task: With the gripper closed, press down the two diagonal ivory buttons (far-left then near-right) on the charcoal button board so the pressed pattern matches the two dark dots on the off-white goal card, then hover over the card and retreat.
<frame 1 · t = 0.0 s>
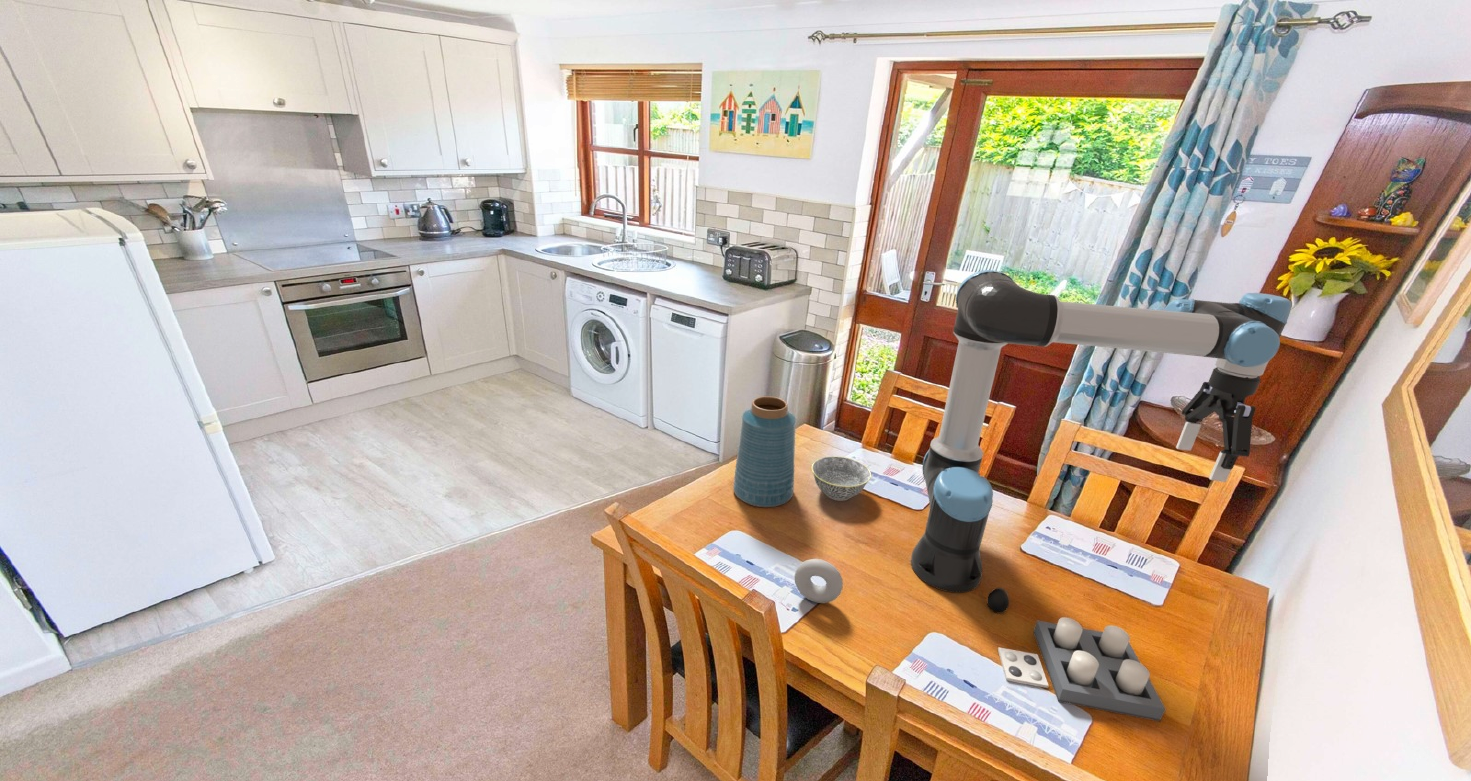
hand: (1199, 464, 123), 28 cm above the table, fingers open, 13 cm apart
goal card: (1021, 668, 106), on the table
egg: (995, 609, 120), on the table
button c: (1067, 633, 108), point 5 cm above the table, slide at 0.0 cm
button b: (1132, 677, 99), point 5 cm above the table, slide at 0.0 cm
button d: (1113, 641, 106), point 5 cm above the table, slide at 0.0 cm
button a: (1082, 667, 101), point 5 cm above the table, slide at 0.0 cm
donut: (815, 600, 119), on the table
board: (1091, 672, 105), on the table
vase: (763, 493, 156), on the table
bowl: (837, 494, 157), on the table
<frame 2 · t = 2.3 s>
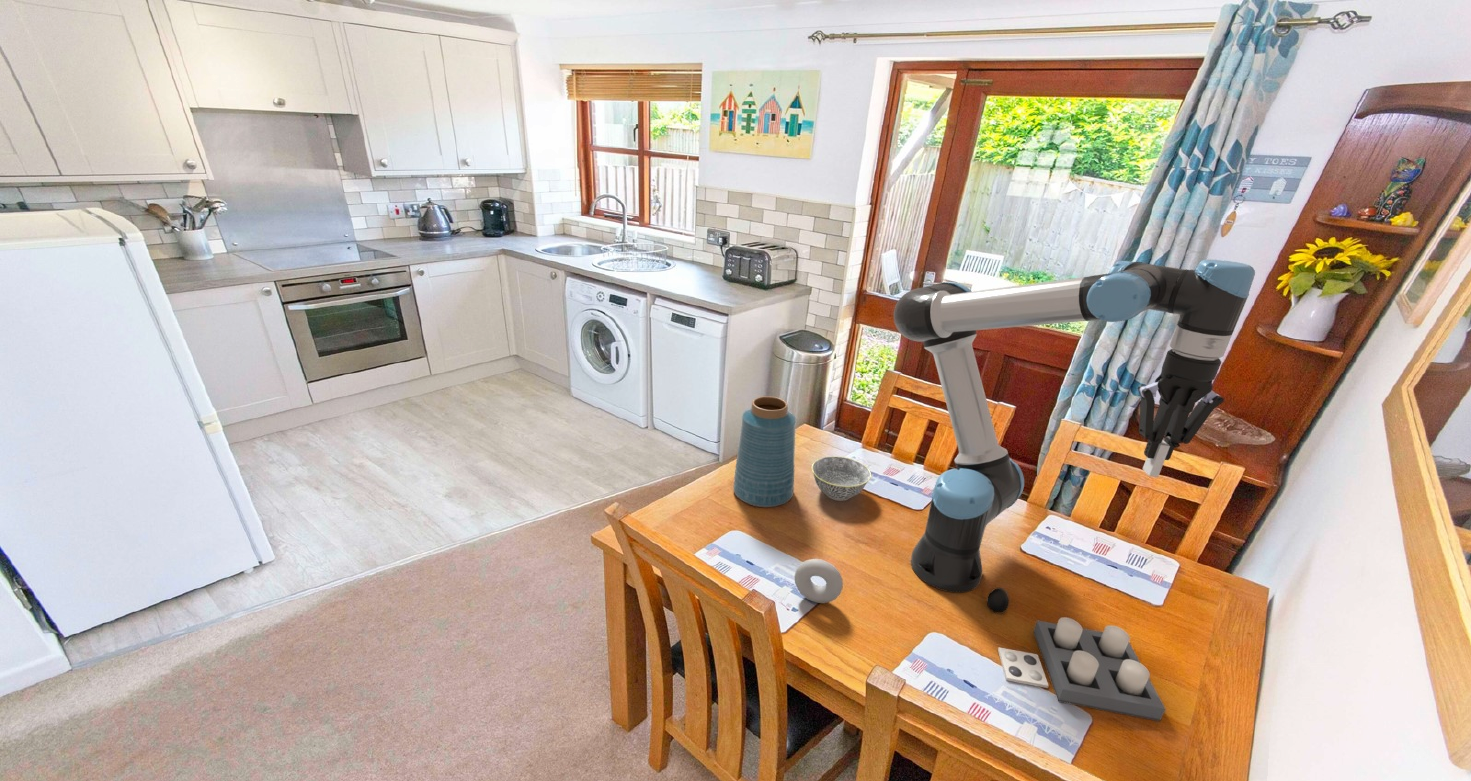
hand: (1150, 473, 107), 34 cm above the table, fingers closed
nothing on the table moved.
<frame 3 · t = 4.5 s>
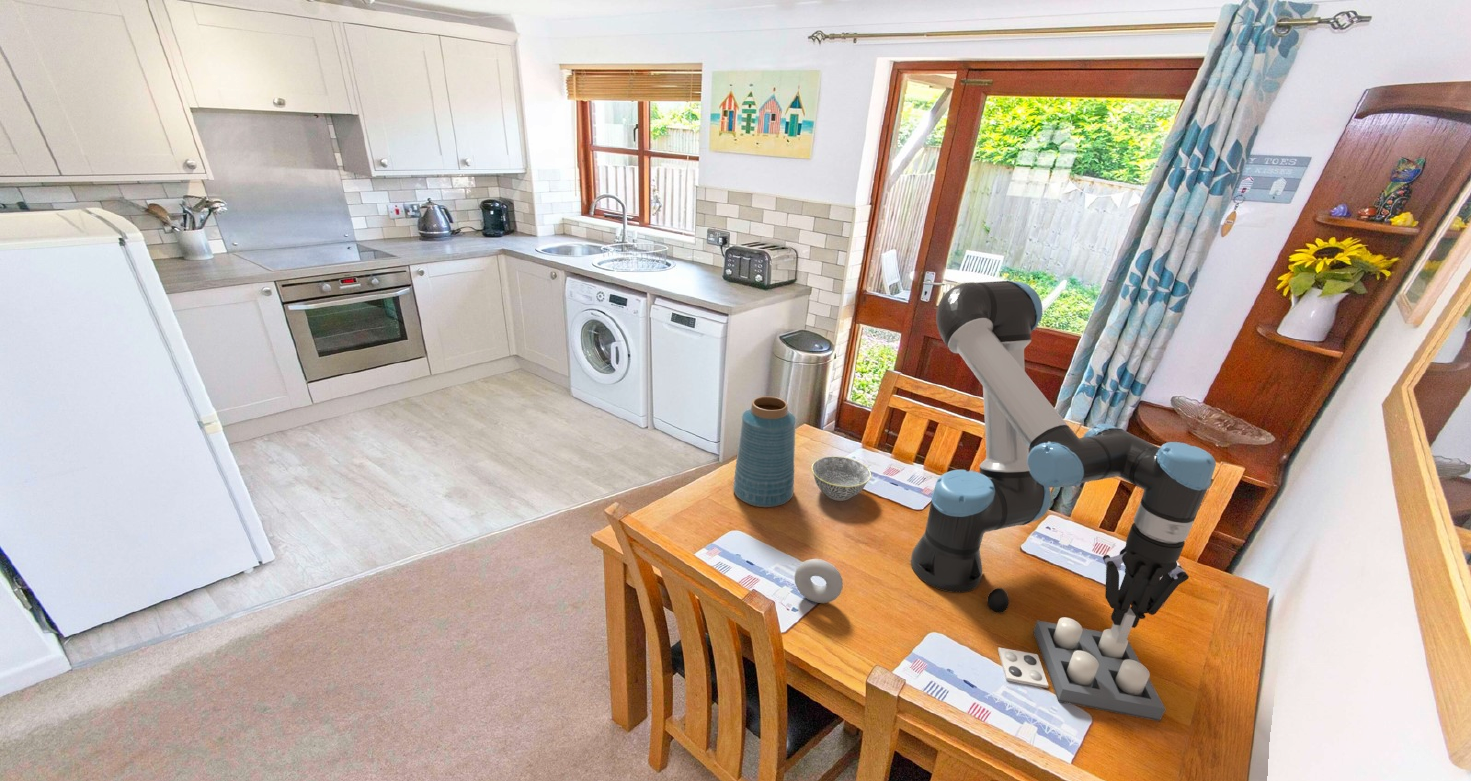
hand: (1117, 637, 106), 6 cm above the table, fingers closed
button d: (1112, 645, 107), point 4 cm above the table, slide at 0.9 cm, touching gripper
everything else where it was.
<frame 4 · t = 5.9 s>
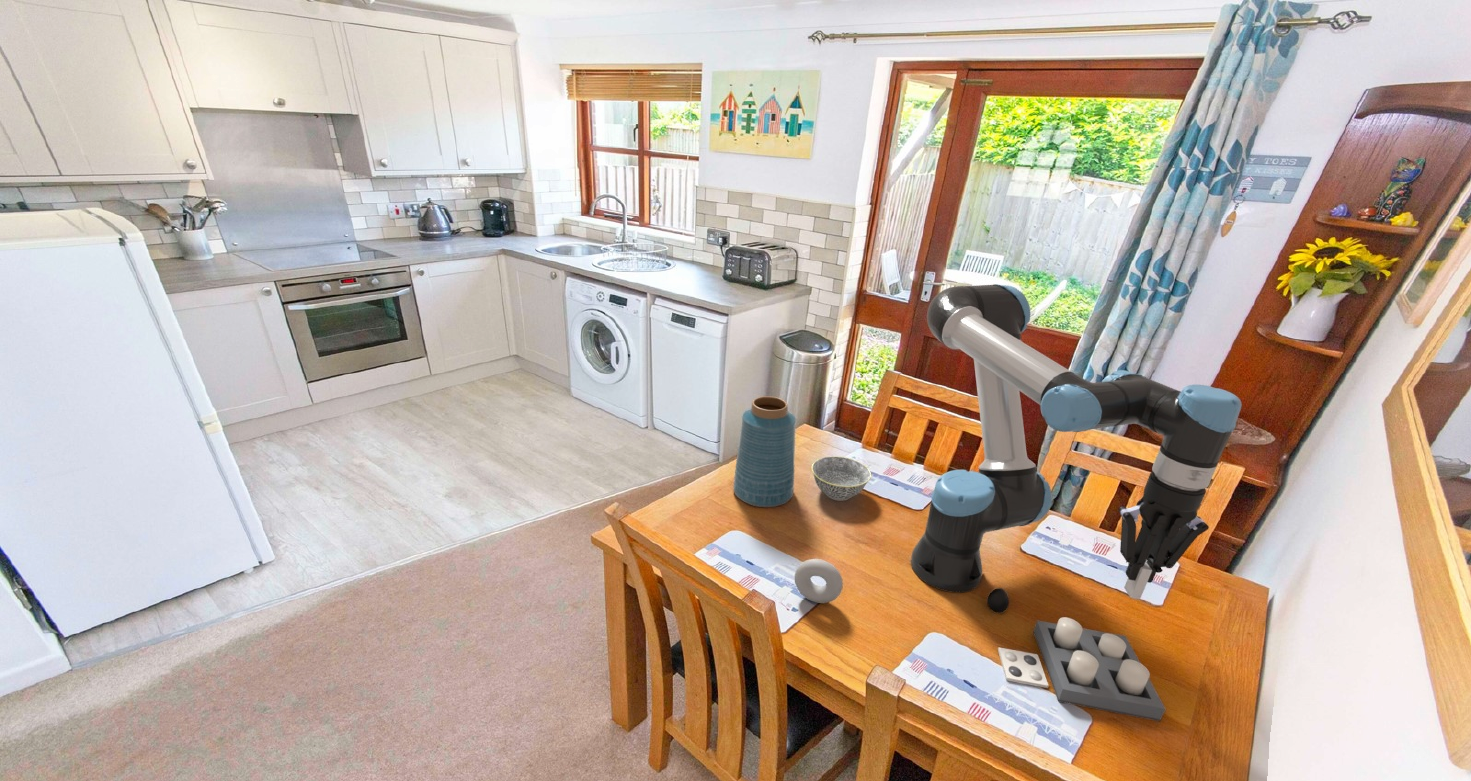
hand: (1132, 593, 102), 16 cm above the table, fingers closed
button d: (1110, 649, 107), point 3 cm above the table, slide at 2.0 cm
everything else where it was.
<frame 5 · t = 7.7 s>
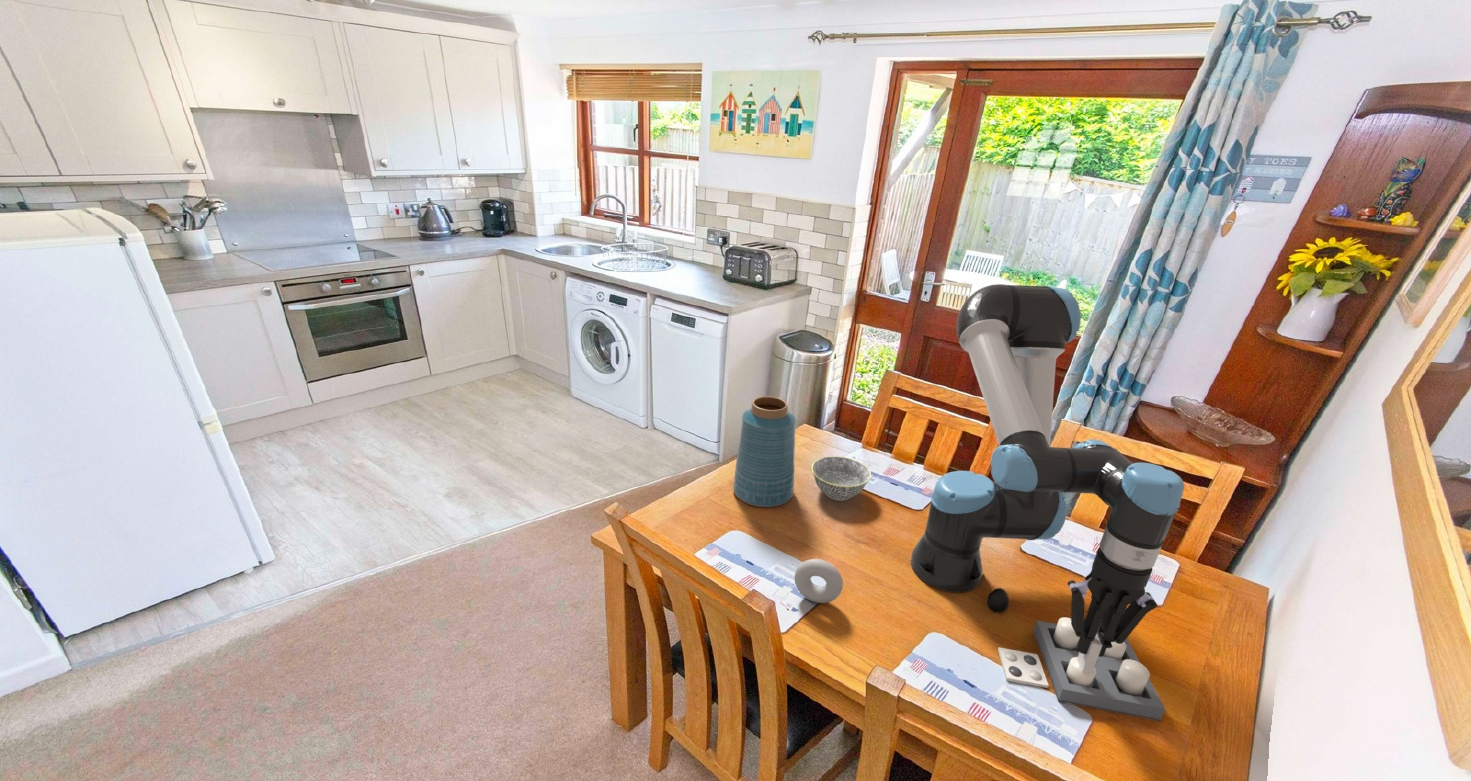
hand: (1084, 666, 100), 5 cm above the table, fingers closed
button a: (1079, 674, 101), point 3 cm above the table, slide at 1.6 cm
everything else where it was.
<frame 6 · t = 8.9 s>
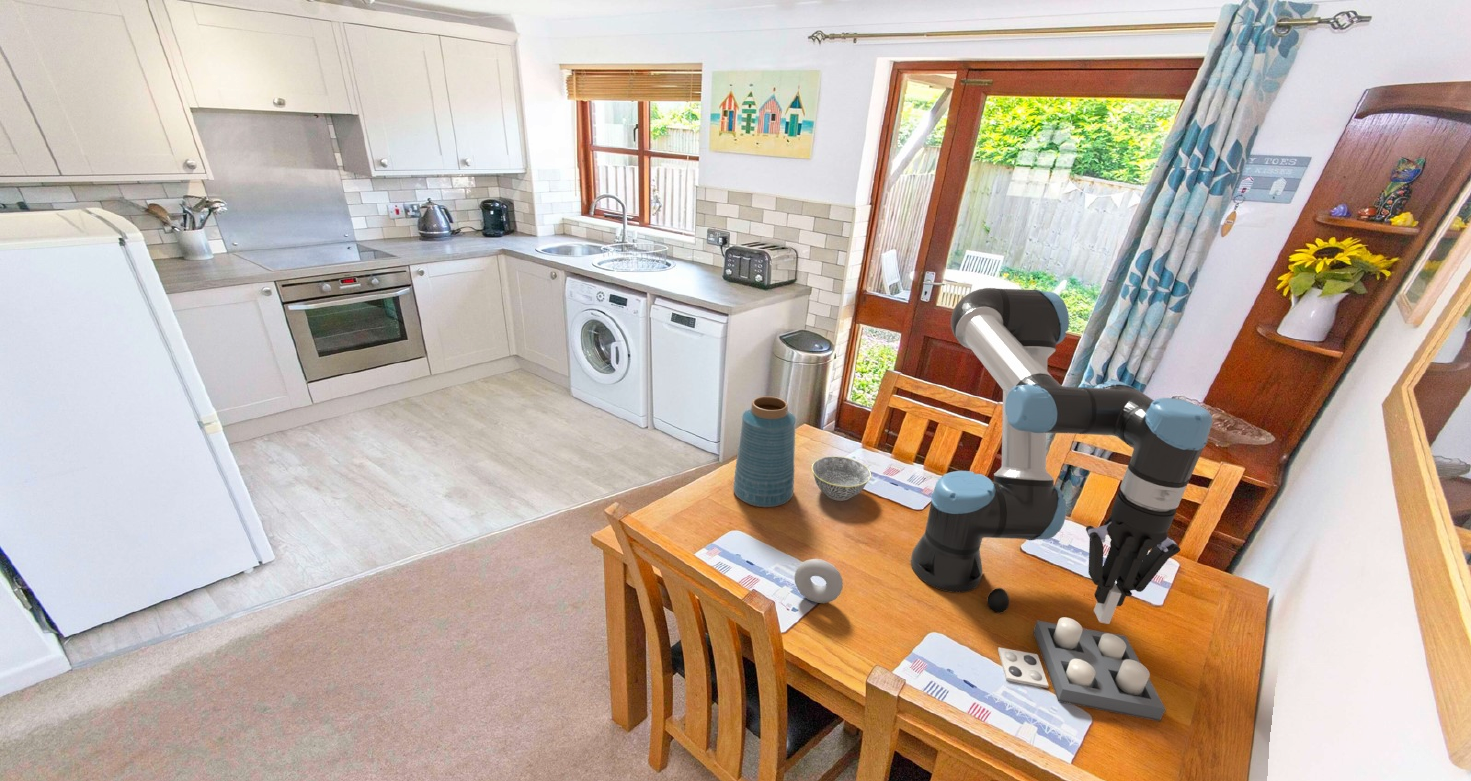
hand: (1101, 616, 96), 16 cm above the table, fingers closed
button a: (1079, 676, 101), point 3 cm above the table, slide at 2.0 cm
everything else where it was.
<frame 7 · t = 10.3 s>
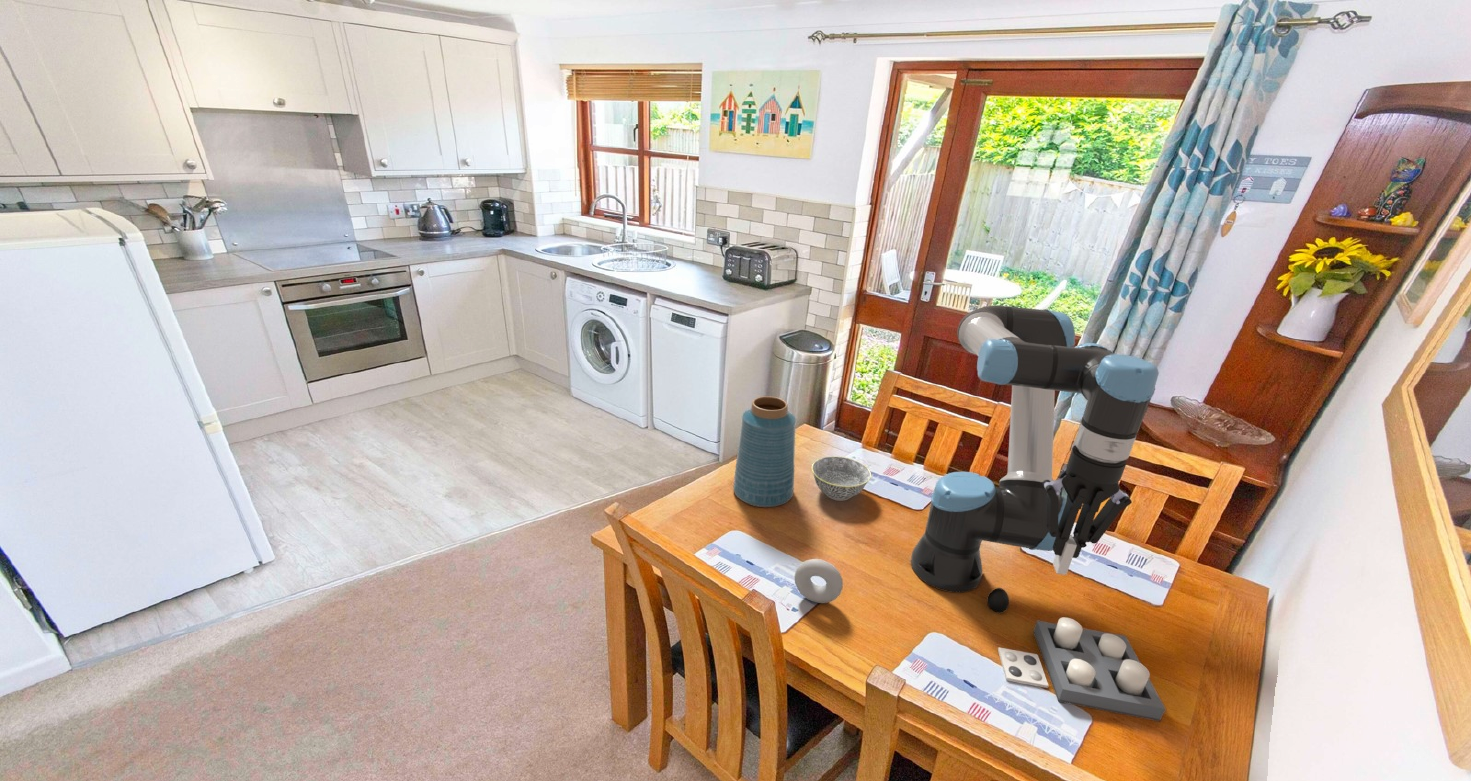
hand: (1059, 569, 100), 21 cm above the table, fingers closed
nothing on the table moved.
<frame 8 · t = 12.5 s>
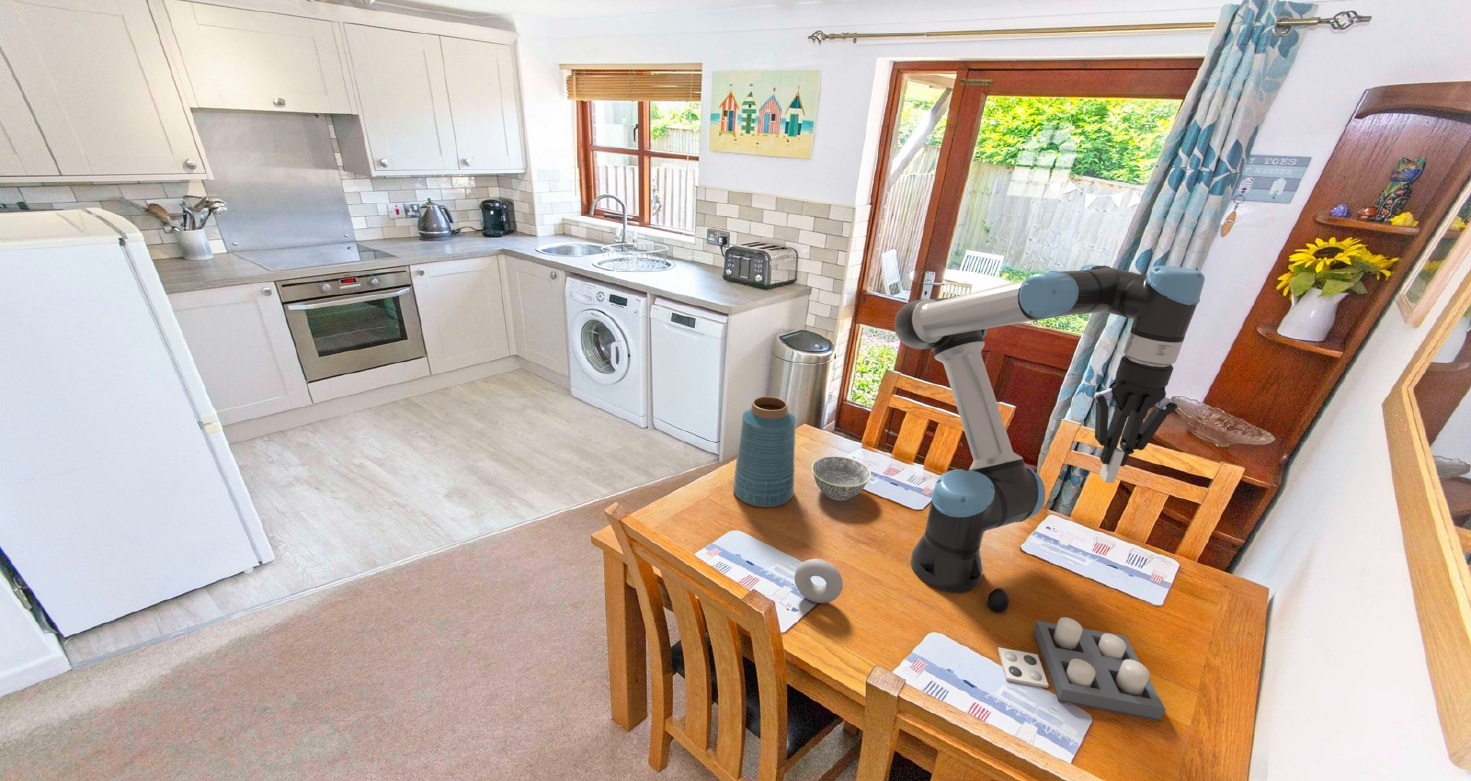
hand: (1106, 478, 106), 32 cm above the table, fingers closed
nothing on the table moved.
at the end: button a slide at 2.0 cm; button d slide at 2.0 cm; button b slide at 0.0 cm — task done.
